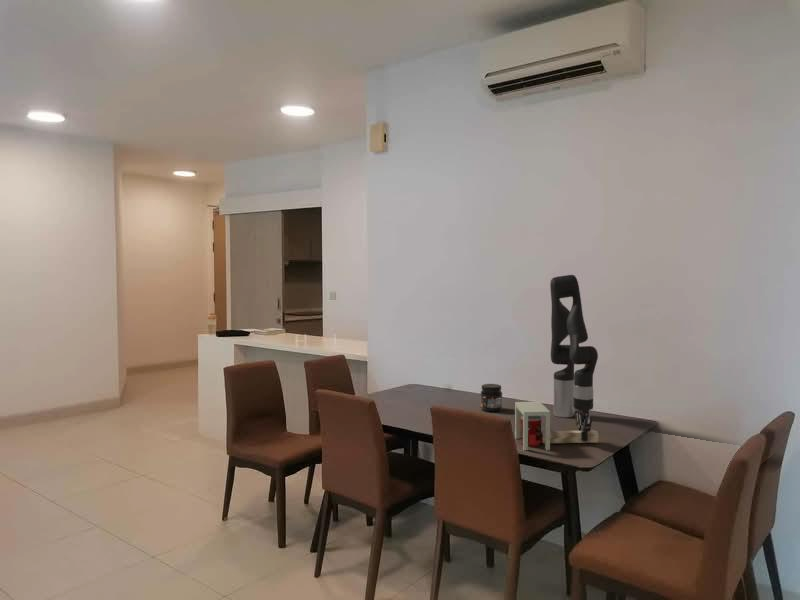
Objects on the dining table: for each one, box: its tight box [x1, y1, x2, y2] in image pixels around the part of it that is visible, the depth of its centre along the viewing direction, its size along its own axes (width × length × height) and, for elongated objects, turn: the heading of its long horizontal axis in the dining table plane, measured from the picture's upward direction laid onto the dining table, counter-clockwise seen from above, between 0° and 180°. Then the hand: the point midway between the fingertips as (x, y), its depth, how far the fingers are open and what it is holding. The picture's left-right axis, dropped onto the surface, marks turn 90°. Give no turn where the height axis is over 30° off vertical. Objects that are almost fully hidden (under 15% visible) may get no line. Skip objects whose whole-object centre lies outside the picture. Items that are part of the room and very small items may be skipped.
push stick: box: [541, 429, 599, 444], centre depth 230 cm, size 22×3×4 cm, turn 91°
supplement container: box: [480, 383, 503, 413], centre depth 283 cm, size 10×10×12 cm
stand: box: [514, 401, 551, 452], centre depth 229 cm, size 16×10×15 cm, turn 1°
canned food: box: [520, 415, 542, 448], centre depth 229 cm, size 8×8×11 cm
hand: (583, 439), depth 230 cm, fingers closed on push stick, 3 cm apart
